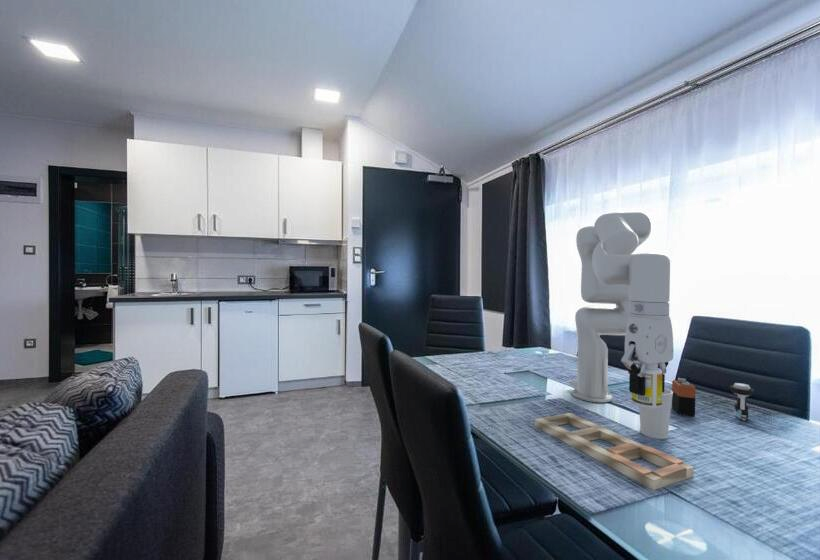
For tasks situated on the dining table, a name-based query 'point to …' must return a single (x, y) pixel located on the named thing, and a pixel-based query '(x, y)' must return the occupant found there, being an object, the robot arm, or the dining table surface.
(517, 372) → the dining table surface
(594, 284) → the robot arm
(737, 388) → the push button
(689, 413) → the battery
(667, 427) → the cup
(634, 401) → the supplement bottle
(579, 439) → the rack
